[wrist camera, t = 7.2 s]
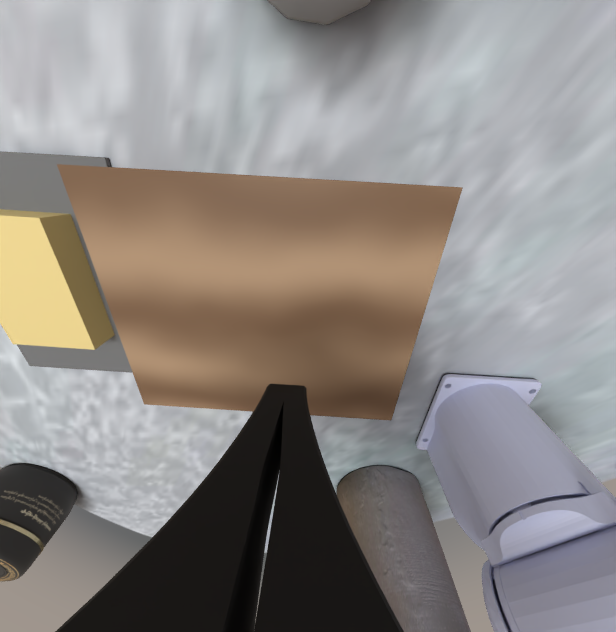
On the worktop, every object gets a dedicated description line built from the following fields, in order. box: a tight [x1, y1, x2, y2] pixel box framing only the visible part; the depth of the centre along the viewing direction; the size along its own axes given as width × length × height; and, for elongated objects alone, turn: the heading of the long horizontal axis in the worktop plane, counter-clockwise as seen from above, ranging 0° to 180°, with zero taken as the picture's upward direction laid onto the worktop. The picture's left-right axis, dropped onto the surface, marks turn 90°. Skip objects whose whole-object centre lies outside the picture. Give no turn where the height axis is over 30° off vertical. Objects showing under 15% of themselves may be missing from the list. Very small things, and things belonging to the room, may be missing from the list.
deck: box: [57, 164, 462, 420], centre depth 16 cm, size 15×18×4 cm
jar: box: [0, 464, 77, 581], centre depth 28 cm, size 10×10×8 cm
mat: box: [0, 152, 132, 372], centre depth 18 cm, size 16×12×1 cm
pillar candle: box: [337, 465, 471, 632], centre depth 23 cm, size 10×10×15 cm
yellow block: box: [0, 209, 115, 350], centre depth 17 cm, size 9×6×2 cm, turn 176°
